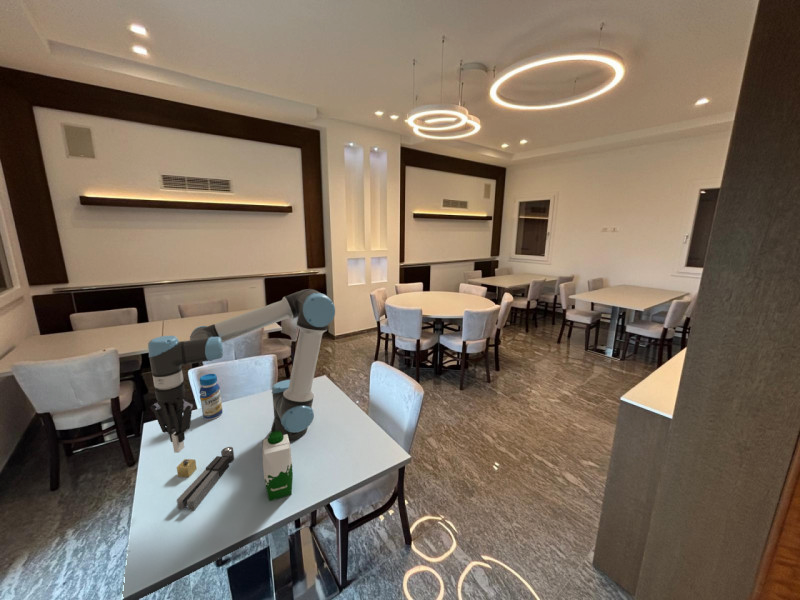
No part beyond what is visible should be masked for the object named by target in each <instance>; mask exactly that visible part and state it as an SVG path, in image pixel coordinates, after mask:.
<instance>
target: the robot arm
mask: <svg viewBox="0 0 800 600" xmlns="http://www.w3.org/2000/svg"><path fill="white" fill-rule="evenodd" d="M335 315H336V307H335V304H334V302H333V301H332V299H331V298H330V297H329V296H327V295H326V294H325V293H321V292H319V291H318V290H315V289H312V288H308V289H302V290H300V291H296V292H294V293H291V294H288V295H285V296H283V297H282V299H281V300H279V301H276V302H272V303H270V304H268V305H264V306H262V307H260V308H256V309H253V310H250V311H247V312H244V313H242V314H239V315H236V316H234V317H233V316H232V317H230V318H228V319H225V320H222V321H219V322H216V323H213V324H210V325H200V326H197V327H196V328H194V329H193V330H192V332H191V334H190V336H189V340H184V341H180V340H179V339H178V337H177V336H175V335H162V336H158V337H155V338H152V339H151V340H150V341H148V343H147V349H148V359H149V363H150V369H151V375H152V379H153V386H154V387H153V388H154V395H155V398H156V400H157V401H156V402H155V403H154V404H152V405H151V406H150V407H149V408H150V409H151V411H152V412H153V414H154V416H155V418H156V420H157V422H158V425H159V427H160V429H161V431H162V433H167V434H168V435H169V440H170V443H172V446H173V448H172V449H173V452H174V453H175V454H177V453H180V452H181V451H182V450H184V448H185V442H184V441H185V440H186V437H185V433H186V432H187V431H188V430H189V429H190V427H191V420H192V413H193V409H194V407H195V403H194V402H191V403H190V402H189V401H187V398H186V397H185V393H186V389H185V382H184V375H183V370H182V369H183V368H182V366H185V365H190V364H191V365H192V364H198V363H204V362H212V361H215V360H220V359H222V358H223V356H224V350H223V343H225V342H228V341H230V340H233V339H236V338H239V337H241V336H244V335H246V334H249V333H252V332H254V331H258V330H260V329H262V328H265V327H267V326H270V325H274V324H275V323H278V322H281V321H284V320H287V319H292V320H293V319H296V318H297V320H296V321H297V322H296V326H297V328H298V329H299V332H298V337H297V342H296V347H295V352H294V358H293V364H292V368H291V374H290V377H289V378H290V379H285V380H284V379H283V380H281V381H278V382H276V383H275V384H273V385H272V388H271V395H272V406H273V416H274V417H273V421H272V425H271V429H270V433H272V432H274V431H281V433H282V435H286V434H287V435H288V438H289V442H293V441H296V440H298V439H300V438H301V437H303V436H305V434H306V433H307V431H308V428H309V427H310V426H311V424H312V423H313V421H314V418H315V412H314V409H313V408H312V406H313V403H314V402H313V401H314V397H315V396H314V392H312V387H313V382H314V377H315V373H316V368H317V362H318V358H319V352H320V347H321V342H322V337H323V334H324V333H325V332H327V331H328V328H329V324H330V323H331V322H333V320H334V318H335Z"/></svg>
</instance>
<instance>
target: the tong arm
mask: <svg viewBox="0 0 800 600" xmlns="http://www.w3.org/2000/svg"><path fill="white" fill-rule="evenodd" d="M221 458H222V455H221V456H218V455H217V456H215V458H213V459H212V461H210V462H209V464H208V465H206V467H205V470H203V471H202V472H201V474H200V475H199V476H197V478H196V479H195V480H194V481H193V482H192V483H191V484H189V486H188V487H187V489H185V490H184V491H183V493H182V494H181V495H180V496H179V497H178V498H177V499H176V505H177V509H178V510H183V511H185V509H186V508H188V504H187V500H188V499H189V498H190V497H191V495H192V494H193V493H194V492H195V491H196V490H197V488H198V487H199V486H200V485H201V484H202V482H203V481H204V480H205V479H206V478H207V476H208V475H209V474H210V473H211V472H212V471H213V468H214V467H215V466H216V464H217V463H218V462H219V461H220V460H221Z"/></svg>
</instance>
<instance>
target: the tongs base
mask: <svg viewBox="0 0 800 600" xmlns="http://www.w3.org/2000/svg"><path fill="white" fill-rule="evenodd" d="M220 453H221V456H222V458H221V460H220V461H219V462H218V463H217V464H216V466H215V467H214V468H213V471H212V472H211V473H210V474H209V475H208V476H207V478H206V479H205V480H204V481H203V482H202V484H201V485H200V486H199V487H198V488H197V490H196V491H195V492H194V493H193V494H192V495H191V497H190V498H189V499H188V500H187V504H188V506H187V509H188V511H196V509H197V508H198V507H199V505H200V504H202V502H203V500H204V499H205V498H206V497H207V495H208V494H209V493H210V492H211V491H212V489H213V488H214V487H215V485H216V484H217V483H218V482H219V480H220V479H221V478H222V477H223V475H224V474H225V472H226V471H227V470H228V468H230V464H231V463H233V461H235V453H234V447H232V446H226V447H224V448H222V449H221V452H220Z"/></svg>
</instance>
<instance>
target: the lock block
mask: <svg viewBox="0 0 800 600" xmlns="http://www.w3.org/2000/svg"><path fill="white" fill-rule="evenodd" d="M196 470H197V462H196V459H193V458H192V459H190V458H184V459H183V460H182V461H181V462H180V463H179V464H178V465H177V466H176V473H177V477H178V478H190V477H191V476H192V475H193V474H194V473H195V471H196Z"/></svg>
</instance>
